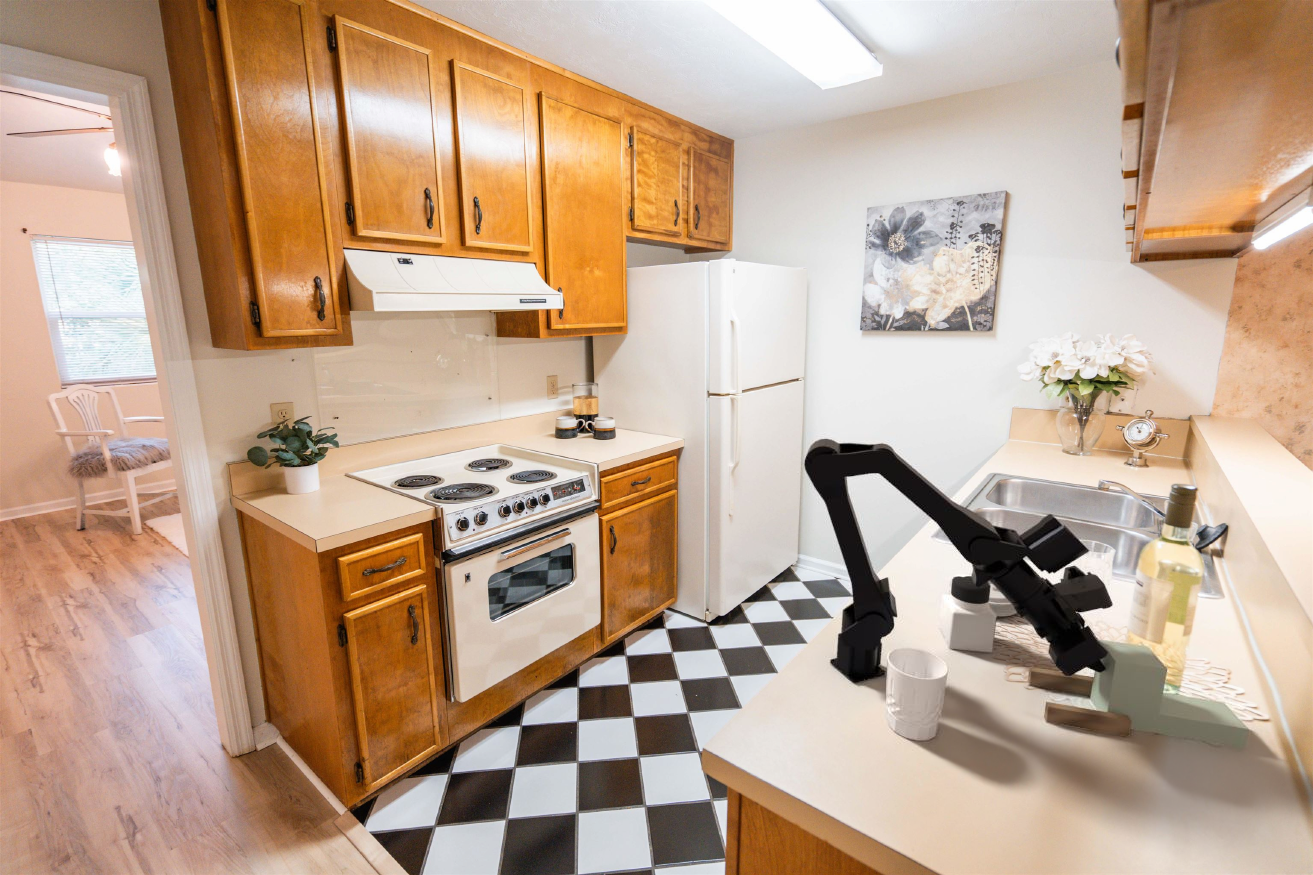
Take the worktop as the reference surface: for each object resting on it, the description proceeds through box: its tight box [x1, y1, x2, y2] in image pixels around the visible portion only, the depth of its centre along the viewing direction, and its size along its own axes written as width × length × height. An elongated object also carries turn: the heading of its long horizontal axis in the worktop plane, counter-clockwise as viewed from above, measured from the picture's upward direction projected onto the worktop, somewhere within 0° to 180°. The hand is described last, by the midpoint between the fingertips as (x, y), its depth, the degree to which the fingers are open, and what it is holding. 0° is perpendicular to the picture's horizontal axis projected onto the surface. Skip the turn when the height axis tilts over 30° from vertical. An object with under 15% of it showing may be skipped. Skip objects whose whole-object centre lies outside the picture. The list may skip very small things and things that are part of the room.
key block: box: [1089, 639, 1250, 749], centre depth 85 cm, size 16×6×10 cm, turn 72°
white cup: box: [885, 647, 949, 742], centre depth 85 cm, size 8×8×10 cm
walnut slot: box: [1027, 666, 1132, 738], centre depth 89 cm, size 10×10×2 cm
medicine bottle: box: [938, 574, 998, 654], centre depth 107 cm, size 7×7×12 cm
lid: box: [948, 573, 1018, 617], centre depth 121 cm, size 13×13×5 cm
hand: (1102, 669), depth 87 cm, fingers closed, pressing on key block
